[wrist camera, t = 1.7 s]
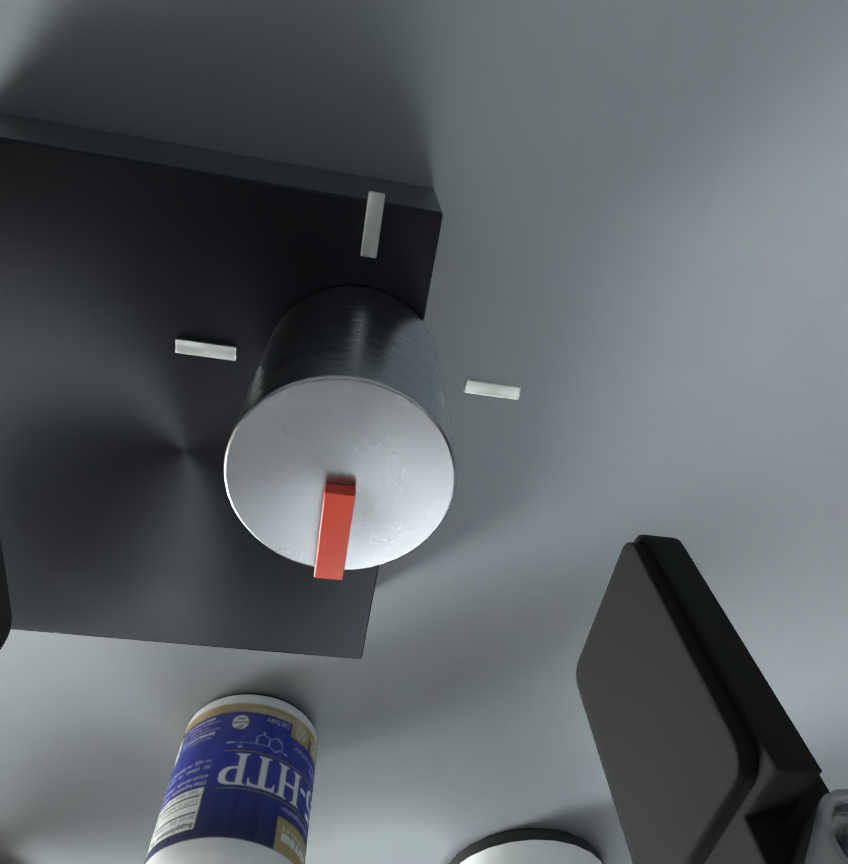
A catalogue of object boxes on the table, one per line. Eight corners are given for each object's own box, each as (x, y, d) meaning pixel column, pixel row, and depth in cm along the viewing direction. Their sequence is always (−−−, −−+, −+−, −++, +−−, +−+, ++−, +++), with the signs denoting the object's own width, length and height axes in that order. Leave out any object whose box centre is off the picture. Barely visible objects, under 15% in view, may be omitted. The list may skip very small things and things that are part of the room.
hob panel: (-20, 99, 16) (-103, 110, 13) (537, 198, 18) (565, 225, 15) (38, 562, 23) (-10, 632, 20) (438, 601, 25) (445, 671, 22)
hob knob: (271, 271, 15) (222, 367, 11) (453, 299, 16) (481, 402, 11) (261, 432, 17) (215, 570, 13) (422, 452, 18) (435, 592, 13)
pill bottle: (344, 726, 28) (327, 989, 20) (269, 790, 30) (227, 1053, 22) (233, 669, 26) (167, 935, 18) (160, 741, 28) (72, 1010, 20)
